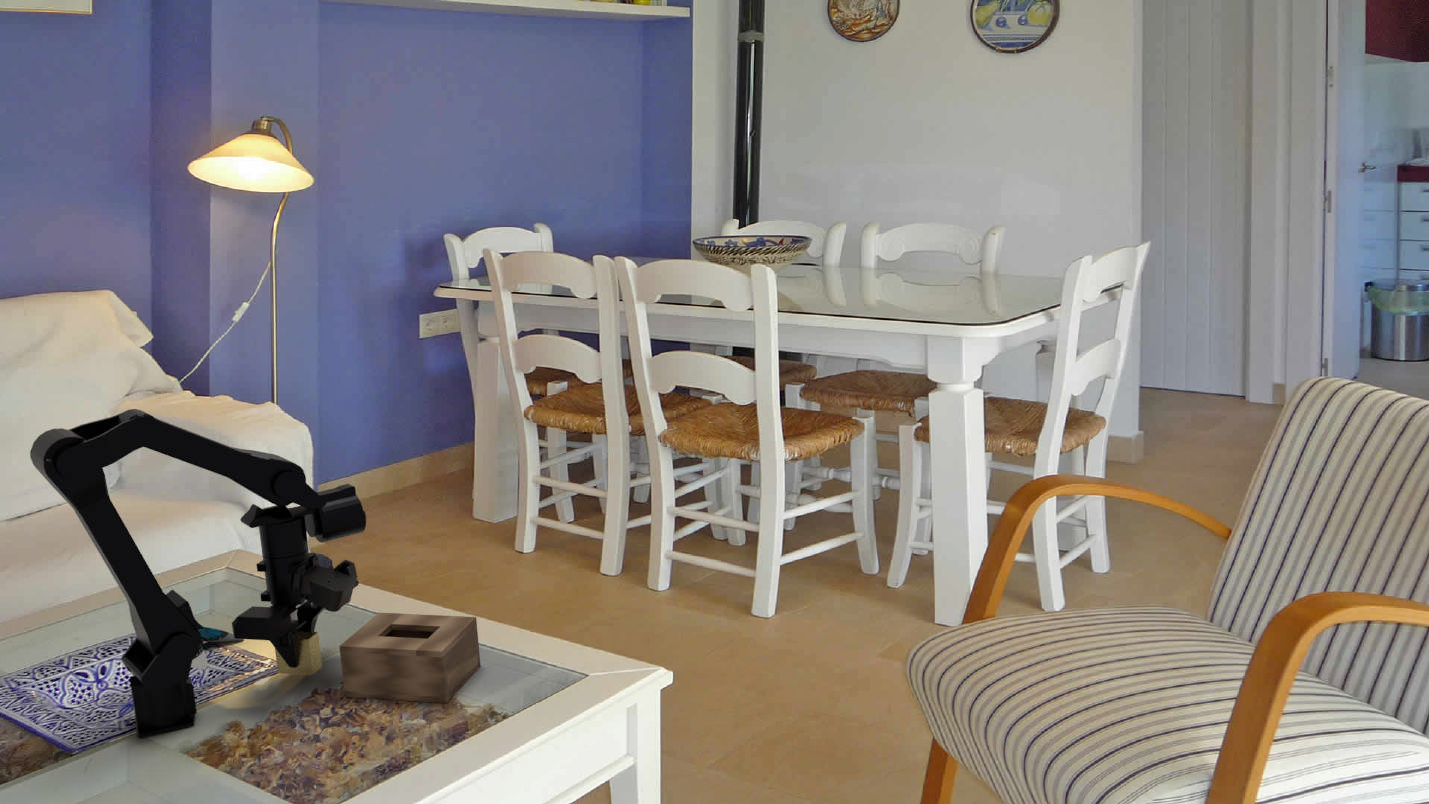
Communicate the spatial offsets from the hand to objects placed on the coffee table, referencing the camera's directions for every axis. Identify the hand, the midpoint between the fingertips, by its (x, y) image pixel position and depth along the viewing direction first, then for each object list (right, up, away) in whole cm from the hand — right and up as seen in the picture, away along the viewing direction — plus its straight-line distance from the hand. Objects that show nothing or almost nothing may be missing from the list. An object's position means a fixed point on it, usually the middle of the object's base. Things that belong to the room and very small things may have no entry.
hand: (299, 662), depth 166 cm
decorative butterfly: (-18, -1, +10) cm, 21 cm away
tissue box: (+16, -2, -2) cm, 16 cm away
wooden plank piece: (0, -1, 0) cm, 1 cm away
